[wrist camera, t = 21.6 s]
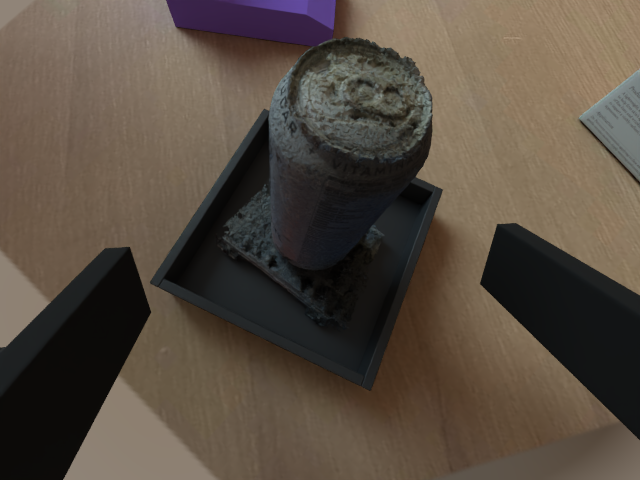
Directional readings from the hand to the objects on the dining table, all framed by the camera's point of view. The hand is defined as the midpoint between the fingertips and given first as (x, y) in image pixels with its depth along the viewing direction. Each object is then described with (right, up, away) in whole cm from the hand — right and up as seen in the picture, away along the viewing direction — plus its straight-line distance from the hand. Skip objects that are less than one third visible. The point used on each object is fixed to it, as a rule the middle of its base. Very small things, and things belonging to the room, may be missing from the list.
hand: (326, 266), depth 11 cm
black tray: (-1, +1, +8) cm, 8 cm away
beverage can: (-1, +1, +7) cm, 7 cm away
